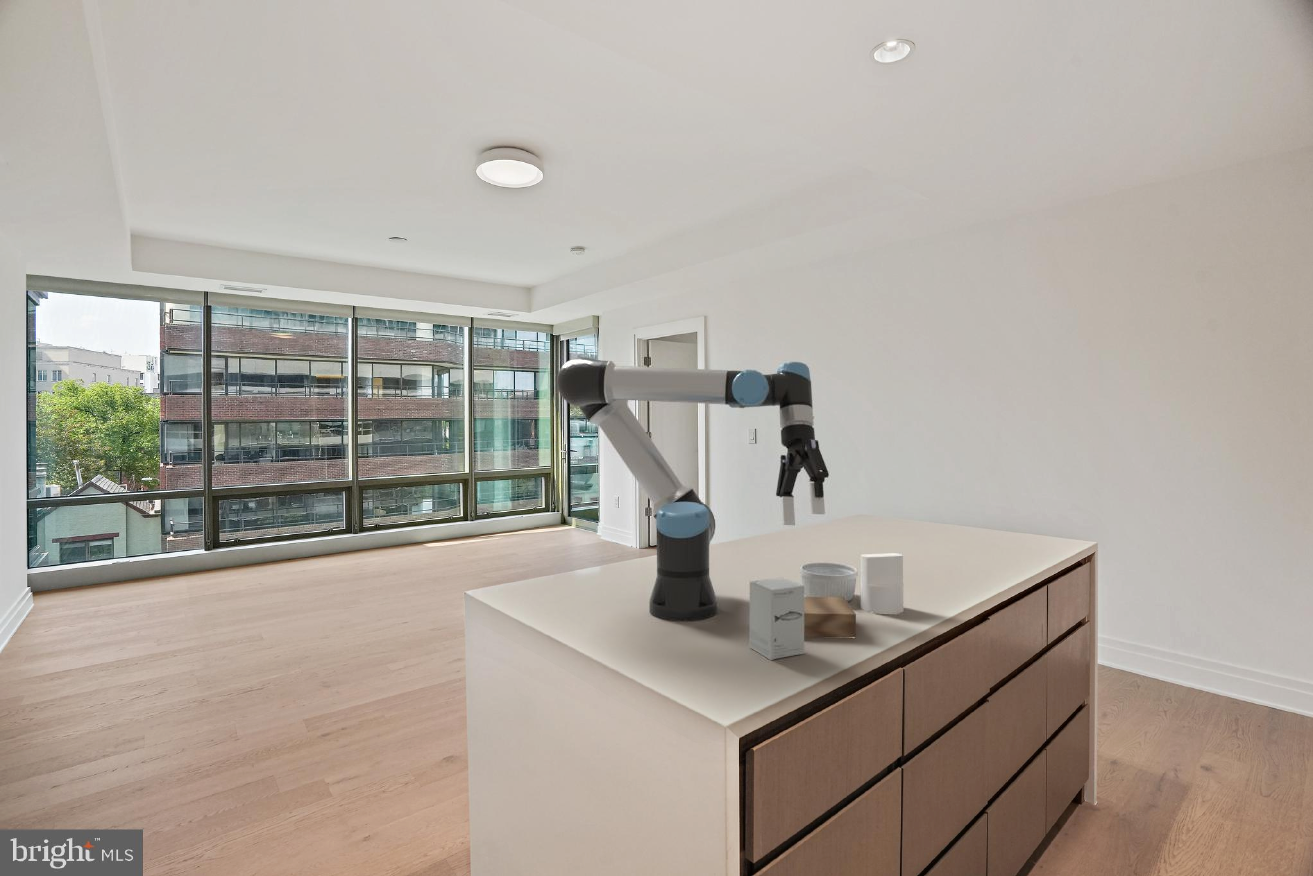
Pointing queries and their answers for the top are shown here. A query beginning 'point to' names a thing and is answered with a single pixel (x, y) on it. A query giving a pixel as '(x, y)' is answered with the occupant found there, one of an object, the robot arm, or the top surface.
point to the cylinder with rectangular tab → (882, 583)
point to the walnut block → (828, 617)
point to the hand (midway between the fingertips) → (803, 519)
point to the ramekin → (828, 580)
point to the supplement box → (777, 617)
